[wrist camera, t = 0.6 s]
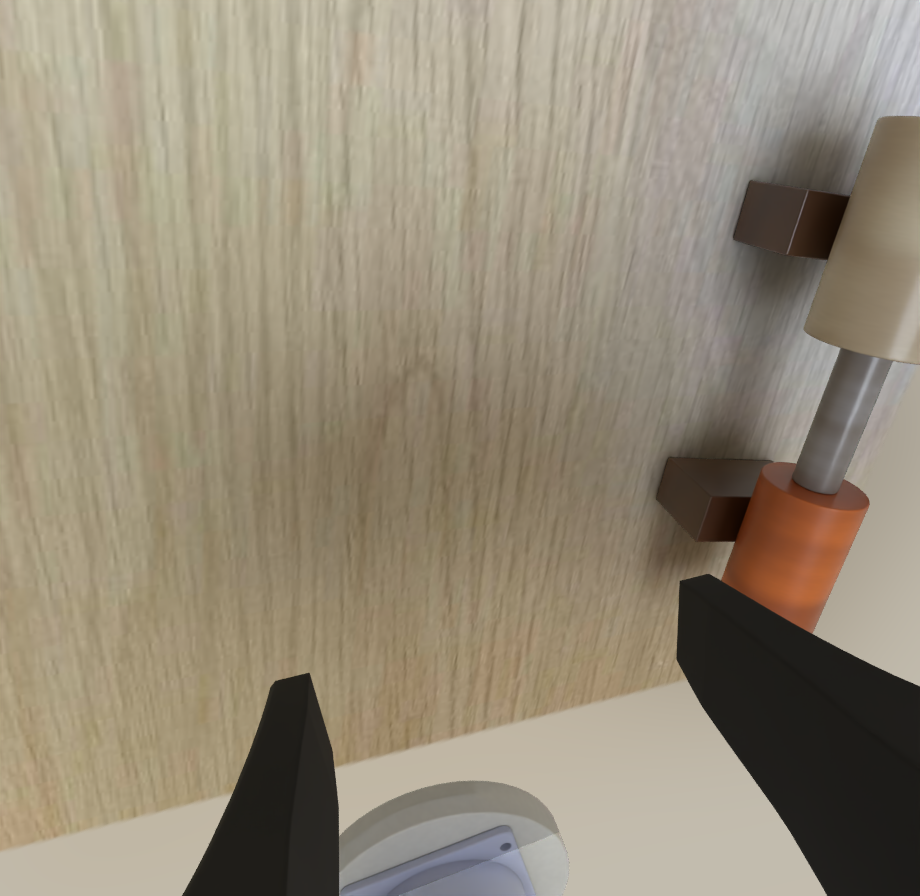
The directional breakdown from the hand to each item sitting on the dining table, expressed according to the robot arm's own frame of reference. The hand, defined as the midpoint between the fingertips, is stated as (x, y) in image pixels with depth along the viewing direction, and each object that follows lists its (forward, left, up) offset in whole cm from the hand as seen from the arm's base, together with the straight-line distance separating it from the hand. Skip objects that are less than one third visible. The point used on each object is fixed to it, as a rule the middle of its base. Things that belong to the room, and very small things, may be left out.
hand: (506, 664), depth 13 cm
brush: (-1, -10, -6) cm, 12 cm away
